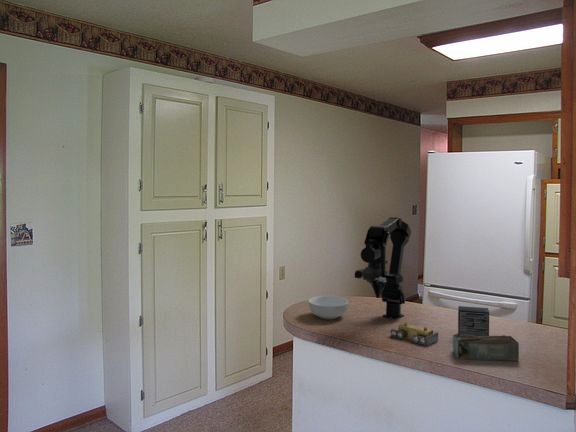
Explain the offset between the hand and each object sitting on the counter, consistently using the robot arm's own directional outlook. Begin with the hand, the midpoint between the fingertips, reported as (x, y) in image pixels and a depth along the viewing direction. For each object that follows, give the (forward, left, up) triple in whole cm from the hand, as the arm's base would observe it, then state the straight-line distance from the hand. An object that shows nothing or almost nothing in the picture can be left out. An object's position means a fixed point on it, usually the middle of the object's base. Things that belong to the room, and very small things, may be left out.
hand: (378, 297), depth 183 cm
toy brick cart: (+2, +17, -12) cm, 20 cm away
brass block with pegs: (+2, +18, -12) cm, 21 cm away
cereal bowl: (+2, -23, -12) cm, 26 cm away
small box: (-15, +32, -12) cm, 37 cm away
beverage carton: (+1, +42, -12) cm, 44 cm away
